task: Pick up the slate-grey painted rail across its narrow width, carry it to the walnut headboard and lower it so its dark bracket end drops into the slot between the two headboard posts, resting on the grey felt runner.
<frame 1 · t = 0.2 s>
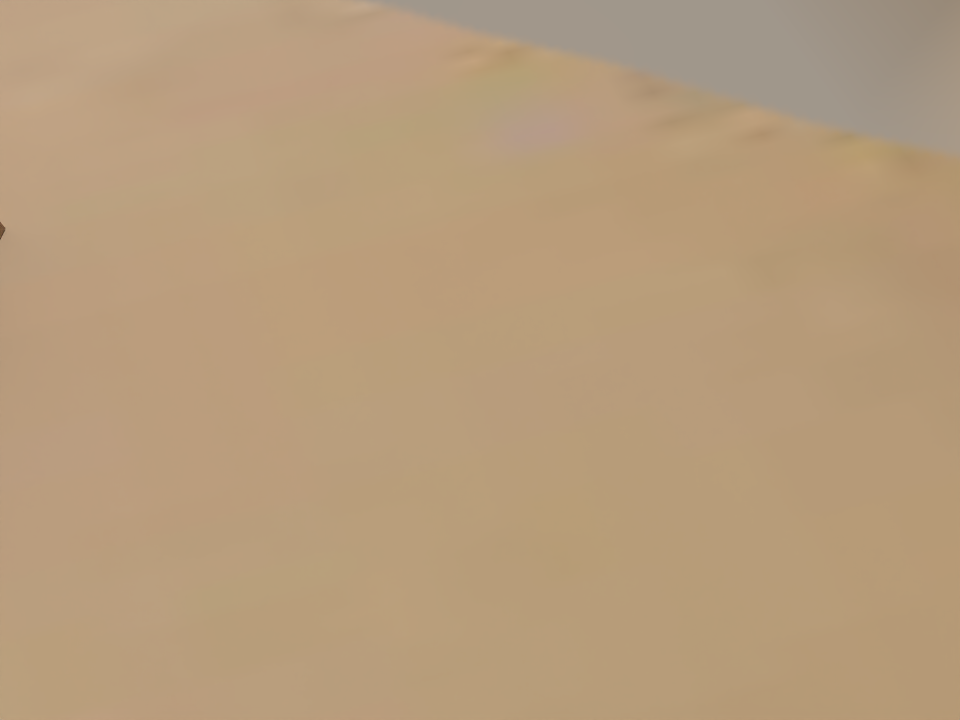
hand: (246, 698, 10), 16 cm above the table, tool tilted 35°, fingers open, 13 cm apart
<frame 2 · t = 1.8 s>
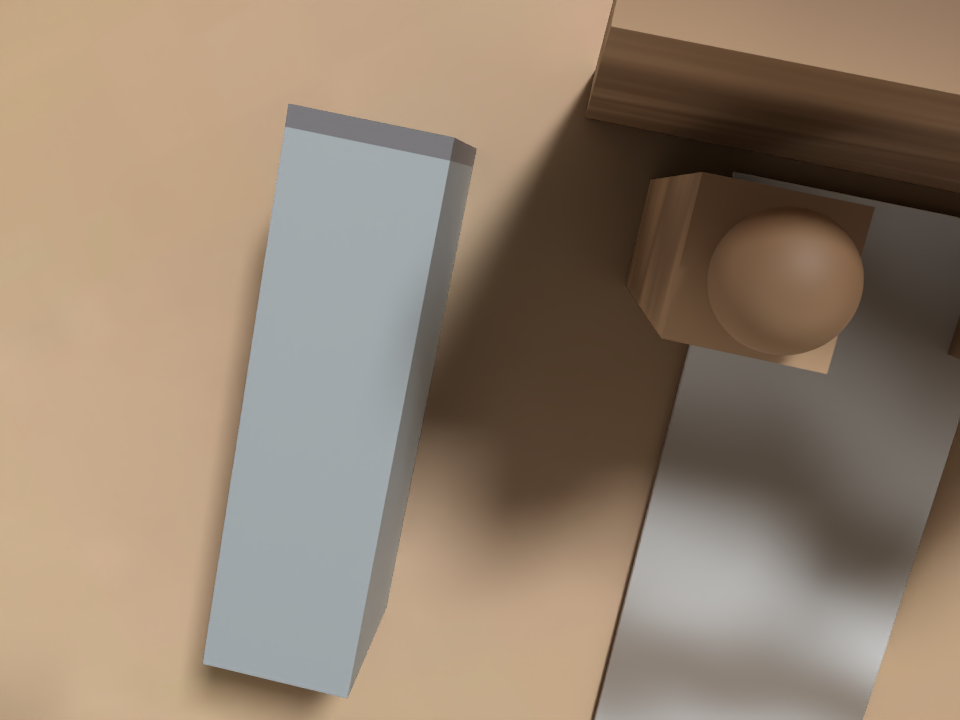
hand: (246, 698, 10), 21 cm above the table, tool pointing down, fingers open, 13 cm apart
rail: (364, 384, 31), on the table
headboard: (868, 216, 28), on the table
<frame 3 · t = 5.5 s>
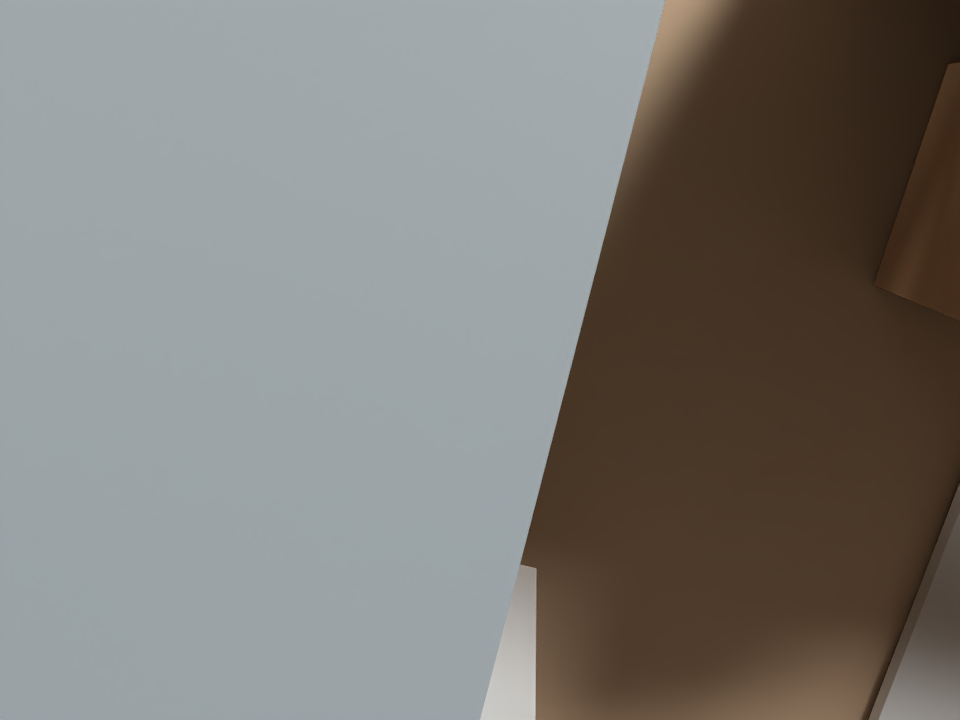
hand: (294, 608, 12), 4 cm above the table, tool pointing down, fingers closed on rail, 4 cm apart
rail: (301, 595, 12), point 4 cm above the table, touching gripper
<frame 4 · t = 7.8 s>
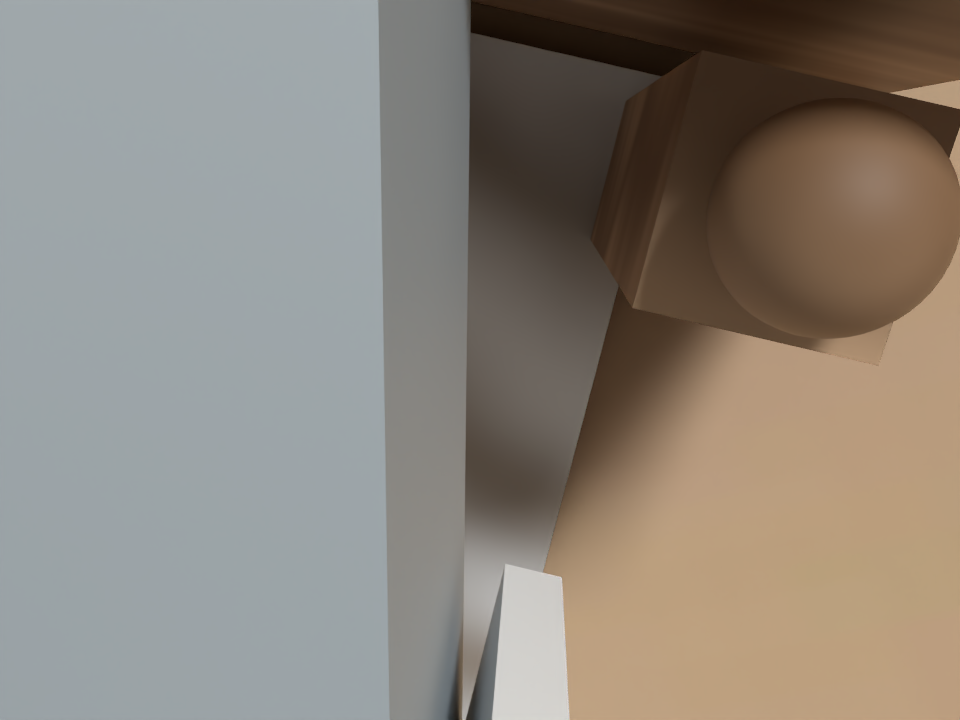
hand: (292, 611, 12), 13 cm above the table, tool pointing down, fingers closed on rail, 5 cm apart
rail: (297, 569, 12), point 13 cm above the table, touching gripper
headboard: (490, 60, 22), on the table
when the fingers open (1 cm above the table, at t = 10.2 s): rail stays where it is, resting on headboard.
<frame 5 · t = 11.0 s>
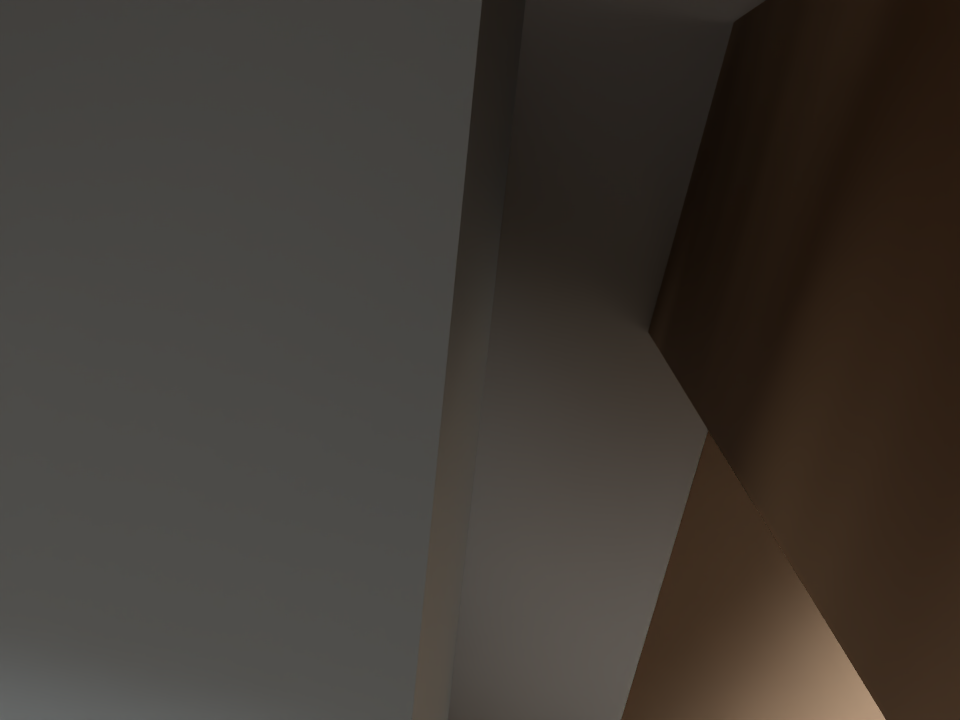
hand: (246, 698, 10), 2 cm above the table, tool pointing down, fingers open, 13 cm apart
rail: (287, 568, 11), resting on headboard
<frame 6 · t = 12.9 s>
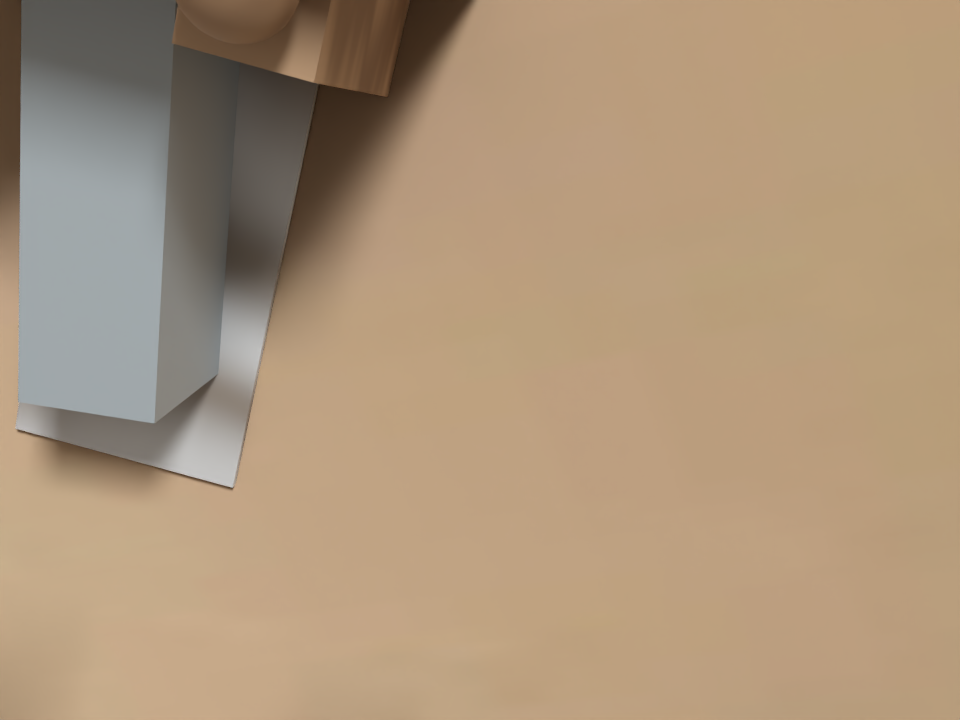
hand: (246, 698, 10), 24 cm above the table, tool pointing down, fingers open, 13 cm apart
rail: (172, 155, 33), resting on headboard
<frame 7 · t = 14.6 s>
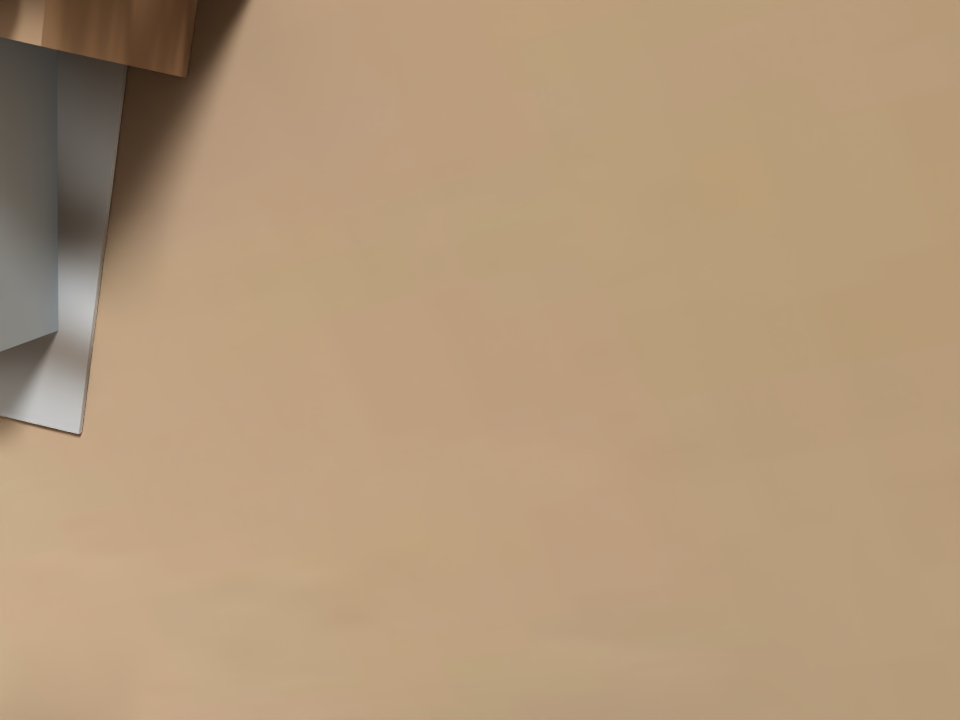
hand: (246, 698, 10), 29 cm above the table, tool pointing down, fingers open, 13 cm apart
rail: (4, 137, 37), resting on headboard
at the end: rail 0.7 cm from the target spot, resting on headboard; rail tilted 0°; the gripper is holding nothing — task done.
